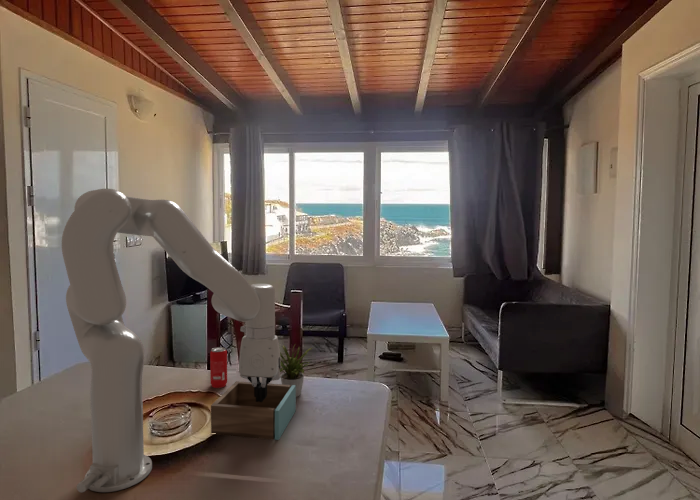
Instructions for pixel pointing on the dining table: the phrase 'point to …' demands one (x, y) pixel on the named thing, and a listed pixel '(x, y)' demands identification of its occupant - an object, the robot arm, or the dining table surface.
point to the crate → (246, 411)
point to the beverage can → (218, 367)
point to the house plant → (293, 370)
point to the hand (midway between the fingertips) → (260, 399)
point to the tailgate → (285, 412)
